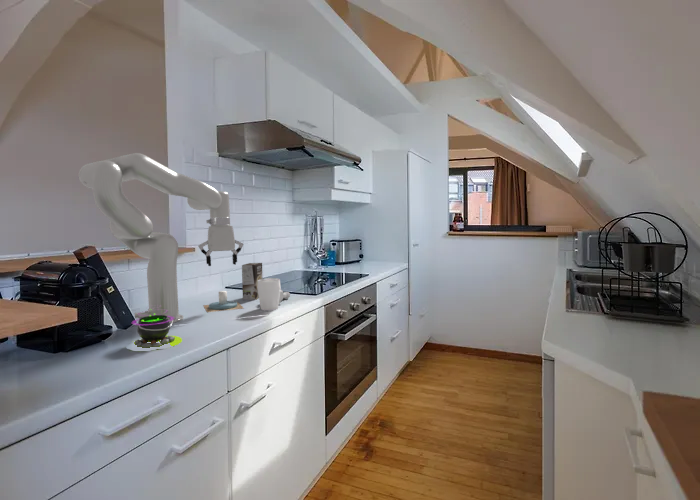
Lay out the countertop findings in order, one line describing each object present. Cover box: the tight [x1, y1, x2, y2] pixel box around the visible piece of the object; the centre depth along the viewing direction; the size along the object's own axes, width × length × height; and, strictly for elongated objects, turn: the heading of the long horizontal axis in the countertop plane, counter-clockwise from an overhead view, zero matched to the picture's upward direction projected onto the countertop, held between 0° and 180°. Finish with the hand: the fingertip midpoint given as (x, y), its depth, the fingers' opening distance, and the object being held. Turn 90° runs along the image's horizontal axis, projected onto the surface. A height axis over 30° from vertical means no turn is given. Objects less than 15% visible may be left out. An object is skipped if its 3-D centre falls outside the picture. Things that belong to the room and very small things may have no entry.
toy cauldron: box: [131, 305, 183, 348], centre depth 118 cm, size 15×15×11 cm
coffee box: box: [241, 262, 264, 301], centre depth 182 cm, size 9×6×16 cm
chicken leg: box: [279, 288, 291, 304], centre depth 174 cm, size 8×18×8 cm, turn 165°
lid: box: [208, 290, 238, 311], centre depth 164 cm, size 11×11×6 cm
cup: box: [257, 277, 282, 311], centre depth 160 cm, size 9×9×12 cm
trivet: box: [203, 301, 245, 313], centre depth 164 cm, size 14×14×1 cm
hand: (222, 265), depth 163 cm, fingers open, 9 cm apart
